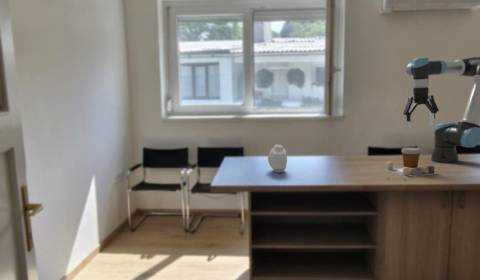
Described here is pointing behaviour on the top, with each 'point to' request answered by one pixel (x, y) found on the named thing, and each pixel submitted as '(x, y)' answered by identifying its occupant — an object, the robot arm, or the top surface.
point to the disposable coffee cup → (410, 157)
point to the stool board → (405, 171)
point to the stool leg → (425, 169)
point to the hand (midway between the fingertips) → (421, 126)
